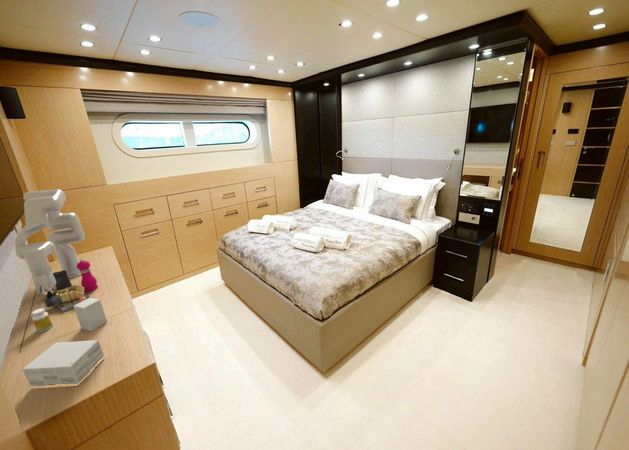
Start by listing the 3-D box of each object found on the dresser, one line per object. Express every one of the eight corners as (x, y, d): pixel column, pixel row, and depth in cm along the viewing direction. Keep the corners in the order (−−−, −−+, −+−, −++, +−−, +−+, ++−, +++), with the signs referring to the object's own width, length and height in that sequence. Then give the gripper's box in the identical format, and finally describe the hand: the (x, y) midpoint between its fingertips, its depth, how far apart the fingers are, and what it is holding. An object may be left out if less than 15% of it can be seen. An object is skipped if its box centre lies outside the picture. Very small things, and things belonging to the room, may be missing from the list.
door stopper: (58, 288, 160) (52, 271, 156) (71, 285, 163) (65, 267, 160) (58, 294, 153) (51, 276, 149) (71, 290, 157) (65, 272, 153)
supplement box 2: (107, 321, 127) (100, 299, 124) (91, 331, 121) (83, 308, 117) (97, 319, 130) (90, 297, 126) (80, 328, 123) (72, 305, 119)
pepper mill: (102, 286, 161) (92, 256, 155) (91, 292, 154) (81, 261, 148) (91, 285, 161) (81, 256, 155) (80, 292, 155) (69, 261, 148)
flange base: (54, 302, 145) (50, 293, 143) (81, 292, 154) (78, 283, 153) (62, 312, 136) (59, 302, 134) (91, 300, 145) (88, 291, 144)
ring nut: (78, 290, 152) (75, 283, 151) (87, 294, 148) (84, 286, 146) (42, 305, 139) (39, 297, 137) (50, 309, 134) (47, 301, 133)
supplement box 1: (106, 358, 105) (99, 339, 103) (78, 387, 93) (70, 366, 90) (63, 360, 105) (55, 341, 102) (30, 389, 93) (20, 369, 90)
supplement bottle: (42, 333, 121) (34, 315, 118) (34, 331, 122) (26, 313, 119) (55, 325, 126) (48, 308, 123) (47, 323, 127) (40, 306, 124)
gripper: (38, 265, 140) (50, 295, 146) (23, 278, 127) (37, 309, 133) (56, 262, 143) (67, 291, 149) (44, 274, 130) (56, 305, 136)
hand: (53, 300), depth 141 cm, fingers closed
